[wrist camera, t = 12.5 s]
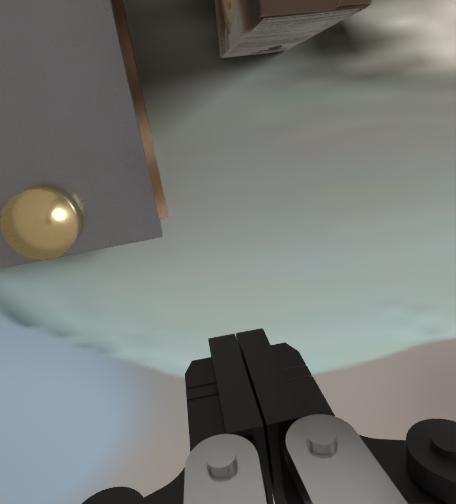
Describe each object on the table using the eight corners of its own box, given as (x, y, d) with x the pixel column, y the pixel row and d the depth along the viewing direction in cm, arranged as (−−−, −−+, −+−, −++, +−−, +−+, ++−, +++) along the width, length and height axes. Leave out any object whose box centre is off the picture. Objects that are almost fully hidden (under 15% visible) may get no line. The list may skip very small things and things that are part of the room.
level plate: (-173, -61, 25) (-225, -89, 22) (90, -93, 26) (80, -123, 23) (-41, 271, 32) (-64, 288, 29) (162, 232, 33) (162, 244, 30)
